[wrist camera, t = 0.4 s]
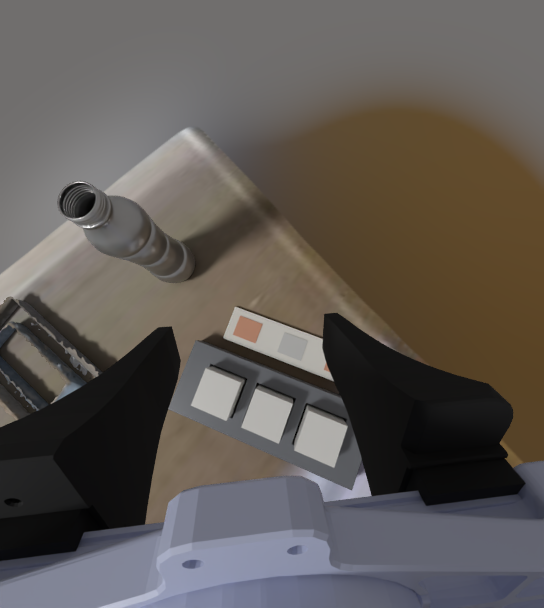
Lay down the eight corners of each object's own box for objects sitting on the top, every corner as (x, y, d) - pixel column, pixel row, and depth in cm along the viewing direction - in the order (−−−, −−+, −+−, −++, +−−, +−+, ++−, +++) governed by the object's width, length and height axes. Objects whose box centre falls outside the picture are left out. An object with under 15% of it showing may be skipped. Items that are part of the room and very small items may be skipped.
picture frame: (76, 460, 40) (59, 469, 37) (-28, 358, 44) (-51, 359, 41) (132, 386, 41) (120, 390, 38) (24, 293, 45) (6, 289, 42)
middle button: (293, 398, 37) (292, 404, 33) (280, 434, 36) (278, 443, 33) (259, 384, 37) (255, 388, 34) (246, 419, 37) (241, 427, 33)
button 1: (342, 418, 36) (347, 426, 32) (330, 455, 35) (334, 467, 32) (307, 403, 36) (308, 410, 33) (294, 440, 36) (294, 450, 33)
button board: (371, 407, 37) (376, 412, 35) (348, 480, 36) (351, 490, 34) (201, 340, 41) (195, 340, 38) (176, 405, 40) (168, 409, 37)
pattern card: (365, 354, 38) (366, 355, 38) (353, 389, 38) (354, 389, 37) (235, 307, 41) (235, 306, 40) (223, 338, 40) (222, 338, 40)
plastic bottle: (190, 292, 42) (95, 246, 22) (152, 278, 43) (28, 222, 23) (205, 254, 42) (127, 177, 23) (167, 241, 43) (60, 156, 24)
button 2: (246, 379, 38) (240, 382, 34) (232, 413, 37) (226, 421, 34) (213, 365, 38) (205, 368, 35) (200, 399, 38) (190, 405, 34)
